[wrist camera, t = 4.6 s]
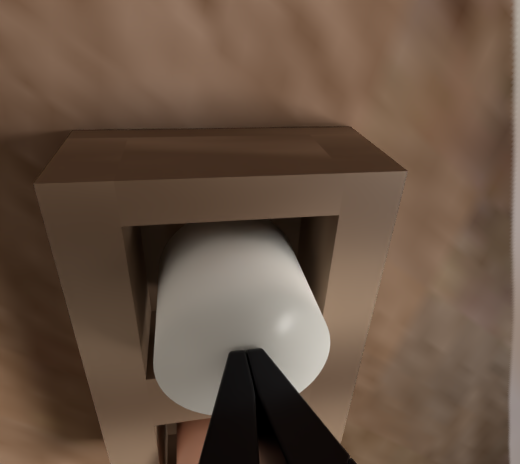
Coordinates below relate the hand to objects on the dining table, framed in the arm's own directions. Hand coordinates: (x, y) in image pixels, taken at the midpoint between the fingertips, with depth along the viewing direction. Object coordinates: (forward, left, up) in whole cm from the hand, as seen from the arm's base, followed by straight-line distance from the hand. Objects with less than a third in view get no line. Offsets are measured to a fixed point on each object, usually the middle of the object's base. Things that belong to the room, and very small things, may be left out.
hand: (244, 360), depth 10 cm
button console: (-4, 0, -6) cm, 7 cm away
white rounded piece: (0, 0, -4) cm, 4 cm away
